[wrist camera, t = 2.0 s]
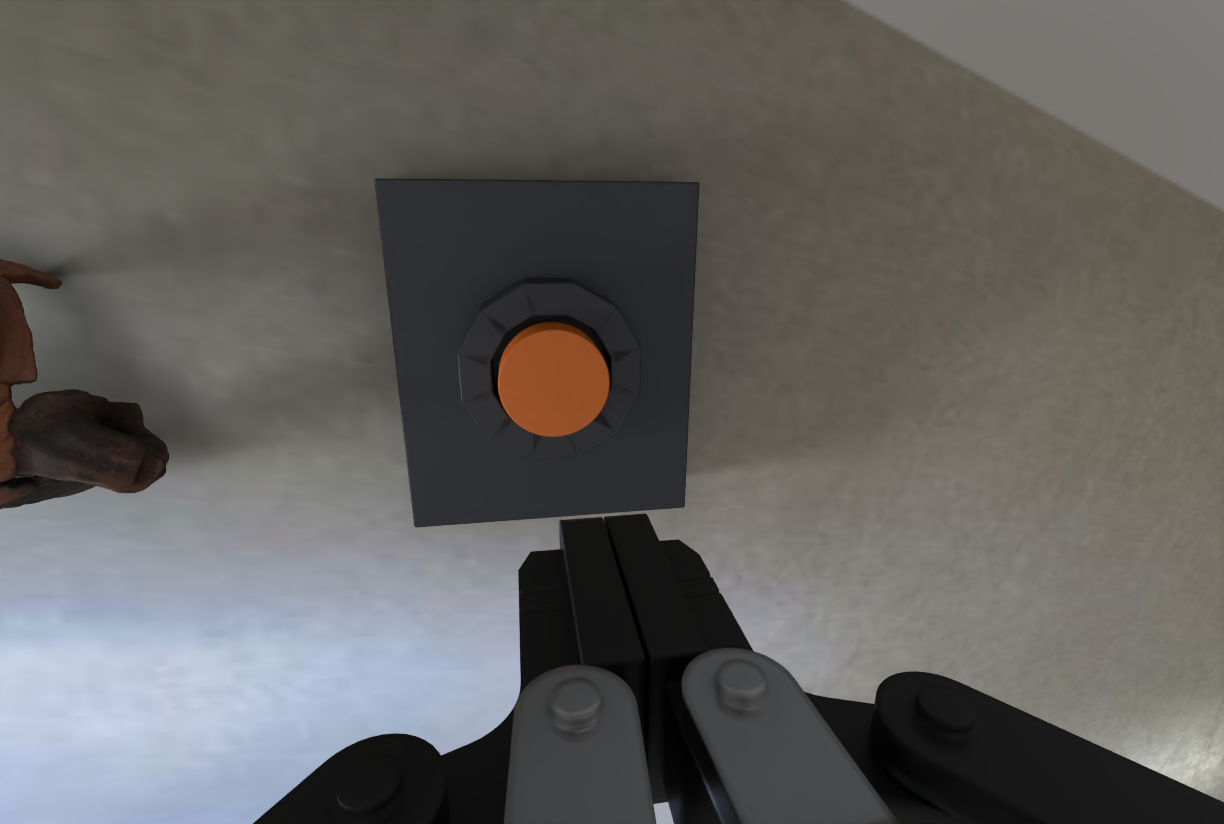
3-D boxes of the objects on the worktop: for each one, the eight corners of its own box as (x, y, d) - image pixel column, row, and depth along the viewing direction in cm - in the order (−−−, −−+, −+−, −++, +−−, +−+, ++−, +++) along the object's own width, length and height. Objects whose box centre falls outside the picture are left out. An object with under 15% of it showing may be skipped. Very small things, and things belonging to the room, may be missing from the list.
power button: (496, 322, 22) (494, 331, 20) (602, 319, 23) (610, 327, 21) (501, 424, 23) (501, 440, 22) (603, 419, 24) (609, 434, 22)
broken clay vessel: (-80, 482, 25) (-392, 456, 17) (29, 283, 27) (-204, 176, 19) (188, 564, 25) (1, 577, 17) (278, 358, 27) (149, 282, 19)
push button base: (391, 182, 24) (362, 175, 19) (677, 185, 26) (714, 179, 21) (424, 495, 29) (407, 550, 24) (667, 479, 30) (696, 527, 26)
